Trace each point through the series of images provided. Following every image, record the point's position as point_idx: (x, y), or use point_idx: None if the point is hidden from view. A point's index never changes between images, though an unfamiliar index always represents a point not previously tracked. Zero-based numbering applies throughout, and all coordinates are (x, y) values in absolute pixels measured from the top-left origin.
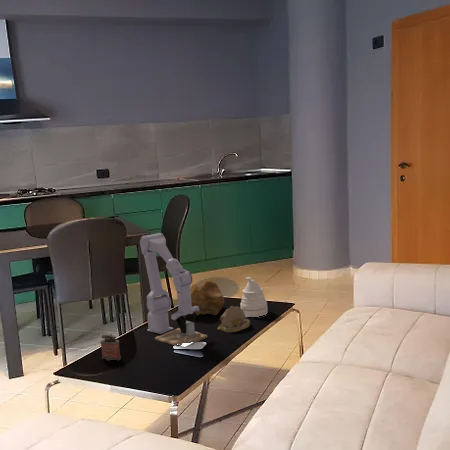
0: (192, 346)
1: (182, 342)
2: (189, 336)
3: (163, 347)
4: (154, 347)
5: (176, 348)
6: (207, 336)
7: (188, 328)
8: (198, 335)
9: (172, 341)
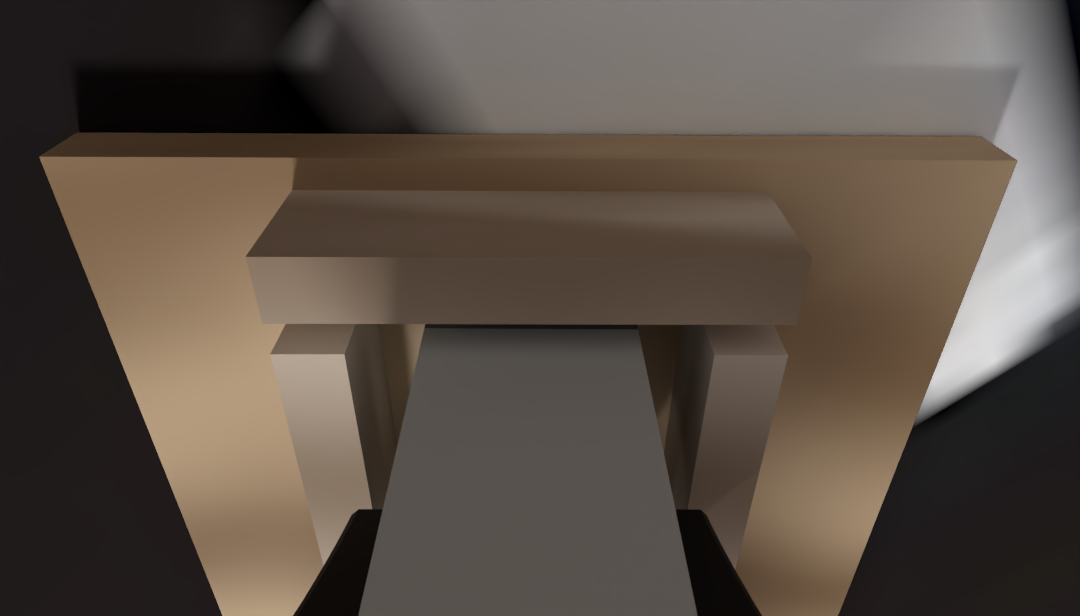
0: (820, 5)
1: (823, 334)
2: (639, 349)
3: (1049, 489)
4: (1076, 584)
5: (1059, 264)
6: (62, 142)
7: (674, 572)
8: (365, 230)
9: (842, 518)
